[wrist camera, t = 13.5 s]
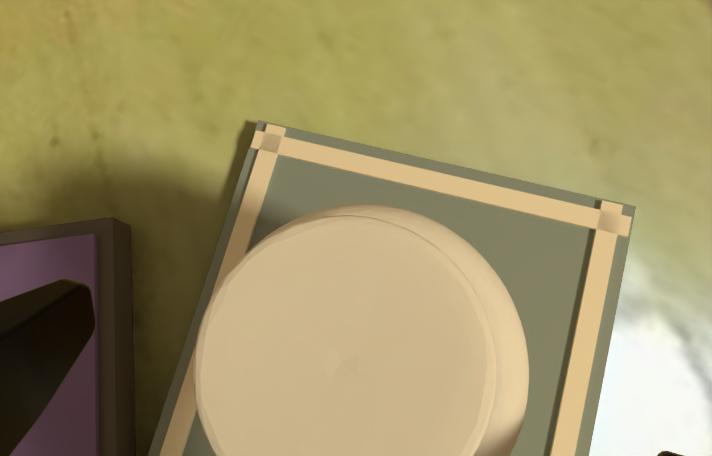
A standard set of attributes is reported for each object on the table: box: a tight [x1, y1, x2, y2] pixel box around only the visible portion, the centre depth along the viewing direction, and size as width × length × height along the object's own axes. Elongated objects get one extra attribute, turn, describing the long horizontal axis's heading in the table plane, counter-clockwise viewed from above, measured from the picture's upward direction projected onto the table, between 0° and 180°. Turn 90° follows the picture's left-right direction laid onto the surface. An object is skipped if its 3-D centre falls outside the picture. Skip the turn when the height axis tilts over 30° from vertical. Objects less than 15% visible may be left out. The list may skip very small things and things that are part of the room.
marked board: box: [148, 120, 636, 456], centre depth 18 cm, size 12×12×1 cm
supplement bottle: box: [193, 204, 529, 456], centre depth 13 cm, size 6×6×10 cm
